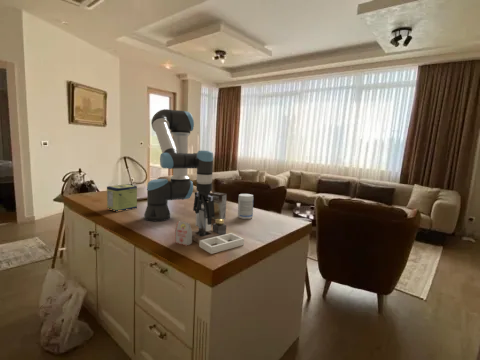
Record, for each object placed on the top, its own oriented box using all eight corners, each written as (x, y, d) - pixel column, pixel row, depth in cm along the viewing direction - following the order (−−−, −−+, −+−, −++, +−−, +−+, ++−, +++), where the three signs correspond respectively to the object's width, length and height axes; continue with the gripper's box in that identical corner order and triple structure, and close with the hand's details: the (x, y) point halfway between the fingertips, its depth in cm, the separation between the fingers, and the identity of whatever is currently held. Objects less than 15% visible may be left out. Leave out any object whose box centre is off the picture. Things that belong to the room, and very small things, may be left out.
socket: (186, 236, 134) (186, 226, 133) (216, 229, 145) (216, 220, 145) (198, 243, 124) (199, 233, 124) (230, 236, 136) (230, 226, 136)
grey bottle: (196, 236, 133) (197, 203, 131) (204, 235, 136) (205, 202, 134) (201, 239, 130) (202, 205, 127) (209, 237, 133) (210, 204, 130)
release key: (213, 231, 139) (213, 219, 138) (220, 229, 142) (220, 218, 141) (218, 233, 136) (218, 221, 135) (225, 232, 139) (225, 220, 138)
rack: (199, 246, 121) (199, 240, 120) (231, 238, 133) (231, 232, 132) (211, 253, 114) (211, 247, 113) (243, 244, 126) (244, 238, 125)
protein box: (137, 208, 182) (137, 185, 180) (116, 212, 169) (115, 188, 167) (127, 205, 187) (127, 183, 185) (106, 209, 174) (106, 186, 172)
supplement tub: (255, 218, 171) (256, 195, 169) (243, 220, 165) (244, 197, 163) (246, 214, 179) (247, 193, 177) (234, 216, 173) (235, 194, 171)
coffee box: (208, 218, 165) (208, 193, 163) (213, 216, 171) (214, 191, 169) (221, 221, 162) (222, 195, 159) (226, 218, 167) (227, 193, 165)
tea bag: (180, 240, 128) (180, 220, 126) (191, 243, 125) (192, 222, 123) (175, 242, 124) (175, 222, 123) (187, 245, 122) (187, 224, 120)
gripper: (223, 185, 124) (221, 232, 127) (199, 179, 139) (198, 221, 143) (210, 186, 119) (208, 235, 122) (186, 180, 135) (185, 223, 138)
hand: (203, 228), depth 132 cm, fingers open, 8 cm apart
